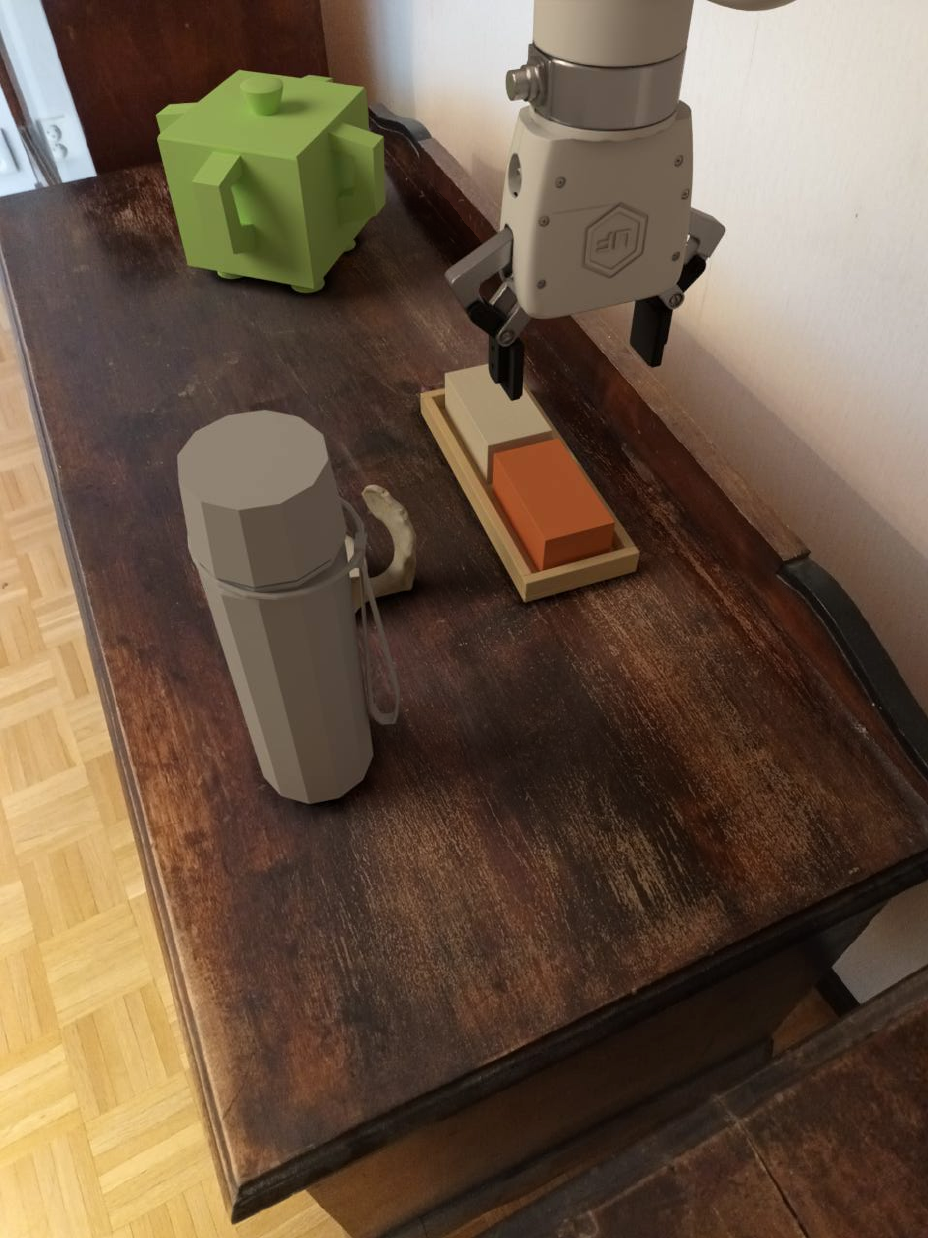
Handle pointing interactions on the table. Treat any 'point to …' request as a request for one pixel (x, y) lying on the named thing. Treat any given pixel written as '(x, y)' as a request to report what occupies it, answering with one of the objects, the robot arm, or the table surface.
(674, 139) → the robot arm
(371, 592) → the water bottle
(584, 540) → the orange angular block
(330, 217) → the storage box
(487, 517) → the wooden tray
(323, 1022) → the table surface
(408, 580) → the bone
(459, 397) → the cream rectangular block
